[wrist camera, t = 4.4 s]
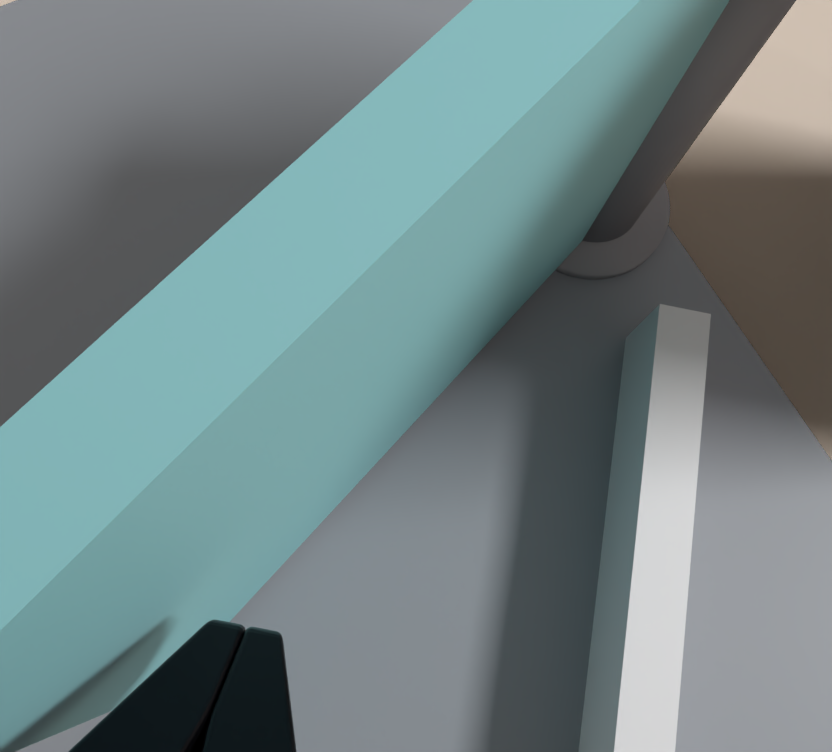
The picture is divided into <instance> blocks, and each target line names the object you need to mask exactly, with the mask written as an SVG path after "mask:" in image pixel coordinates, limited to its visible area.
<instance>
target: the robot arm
mask: <svg viewBox="0 0 832 752" xmlns="http://www.w3.org/2000/svg"><path fill="white" fill-rule="evenodd" d="M68 752H297V751H296V743H295V734H294V726H293V718H292V709H291V701H290V693H289V685H288V676H287V668H286V660H285V651H284V643H283V637H282V635H281V633H279V632H277V631H273V630H268V629H263V628H257V627H249V628H247V629H245V627H244V626H243V625H241V624H237V623H232V622H226V621H221V620H211V621H208V622H207V623H206V624H204V625H203V626H202V627H201V628H200V629H199V630H198V631H197V632H196V633H195V634H194V635H193V636H192V637H190V638H189V639H188V640H187V641H186V642H185V643H184V644H183V645H182V646H181V647H180V648H179V649H178V650H177V651H175V652H174V653H173V654H172V655H171V656H170V657H169V658H168V659H167V660H166V661H165V662H164V663H163V664H162V665H160V666H159V667H158V668H157V669H156V670H155V671H154V672H153V673H152V674H151V675H150V676H149V677H148V678H147V679H145V680H144V681H143V682H142V683H141V684H140V685H139V686H138V687H137V688H136V689H135V690H134V691H133V692H132V693H130V694H129V695H128V696H127V697H126V698H125V699H124V700H123V701H122V702H121V703H120V704H119V705H118V706H117V707H115V708H114V709H113V710H112V711H111V712H110V713H109V714H108V715H107V716H106V717H105V718H104V719H103V720H102V721H100V722H99V723H98V724H97V725H96V726H95V727H94V728H93V729H92V730H91V731H90V732H89V733H88V734H87V735H85V736H84V737H83V738H82V739H81V740H80V741H79V742H78V743H77V744H76V745H75V746H74V747H73V748H72V749H70V750H69V751H68Z"/></svg>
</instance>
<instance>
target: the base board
mask: <svg viewBox="0 0 832 752" xmlns="http://www.w3.org/2000/svg"><path fill="white" fill-rule="evenodd" d="M472 1H473V0H16V1H14V2H11V3H8V4H6V5H3V6H0V427H1V426H2V425H3V424H4V423H5V422H6V421H7V420H9V419H10V418H11V417H12V416H13V415H14V414H15V413H16V412H17V411H19V410H20V409H21V408H22V407H23V406H24V405H25V404H26V403H27V402H29V401H30V400H31V399H32V398H33V397H34V396H35V395H36V394H37V393H38V392H40V391H41V390H42V389H43V388H44V387H45V386H46V385H47V384H48V383H50V382H51V381H52V380H53V379H54V378H55V377H56V376H57V375H58V374H60V373H61V372H62V371H63V370H64V369H65V368H66V367H67V366H68V365H70V364H71V363H72V362H73V361H74V360H75V359H76V358H77V357H78V356H79V355H81V354H82V353H83V352H84V351H85V350H86V349H87V348H88V347H89V346H91V345H92V344H93V343H94V342H95V341H96V340H97V339H98V338H99V337H101V336H102V335H103V334H104V333H105V332H106V331H107V330H108V329H109V328H110V327H112V326H113V325H114V324H115V323H116V322H117V321H118V320H119V319H120V318H122V317H123V316H124V315H125V314H126V313H127V312H128V311H129V310H130V309H132V308H133V307H134V306H135V305H136V304H137V303H138V302H139V301H140V300H142V299H143V298H144V297H145V296H146V295H147V294H148V293H149V292H150V291H151V290H153V289H154V288H155V287H156V286H157V285H158V284H159V283H160V282H161V281H163V280H164V279H165V278H166V277H167V276H168V275H169V274H170V273H171V272H173V271H174V270H175V269H176V268H177V267H178V266H179V265H180V264H181V263H183V262H184V261H185V260H186V259H187V258H188V257H189V256H190V255H191V254H192V253H194V252H195V251H196V250H197V249H198V248H199V247H200V246H201V245H202V244H204V243H205V242H206V241H207V240H208V239H209V238H210V237H211V236H212V235H214V234H215V233H216V232H217V231H218V230H219V229H220V228H221V227H222V226H223V225H225V224H226V223H227V222H228V221H229V220H230V219H231V218H232V217H233V216H235V215H236V214H237V213H238V212H239V211H240V210H241V209H242V208H243V207H245V206H246V205H247V204H248V203H249V202H250V201H251V200H252V199H253V198H255V197H256V196H257V195H258V194H259V193H260V192H261V191H262V190H263V189H264V188H266V187H267V186H268V185H269V184H270V183H271V182H272V181H273V180H274V179H276V178H277V177H278V176H279V175H280V174H281V173H282V172H283V171H284V170H286V169H287V168H288V167H289V166H290V165H291V164H292V163H293V162H294V161H296V160H297V159H298V158H299V157H300V156H301V155H302V154H303V153H304V152H305V151H307V150H308V149H309V148H310V147H311V146H312V145H313V144H314V143H315V142H317V141H318V140H319V139H320V138H321V137H322V136H323V135H324V134H325V133H327V132H328V131H329V130H330V129H331V128H332V127H333V126H334V125H335V124H336V123H338V122H339V121H340V120H341V119H342V118H343V117H344V116H345V115H346V114H348V113H349V112H350V111H351V110H352V109H353V108H354V107H355V106H356V105H358V104H359V103H360V102H361V101H362V100H363V99H364V98H365V97H366V96H368V95H369V94H370V93H371V92H372V91H373V90H374V89H375V88H376V87H377V86H379V85H380V84H381V83H382V82H383V81H384V80H385V79H386V78H387V77H389V76H390V75H391V74H392V73H393V72H394V71H395V70H396V69H397V68H399V67H400V66H401V65H402V64H403V63H404V62H405V61H406V60H407V59H409V58H410V57H411V56H412V55H413V54H414V53H415V52H416V51H417V50H418V49H420V48H421V47H422V46H423V45H424V44H425V43H426V42H427V41H428V40H430V39H431V38H432V37H433V36H434V35H435V34H436V33H437V32H438V31H440V30H441V29H442V28H443V27H444V26H445V25H446V24H447V23H448V22H449V21H451V20H452V19H453V18H454V17H455V16H456V15H457V14H458V13H459V12H461V11H462V10H463V9H464V8H465V7H466V6H467V5H468V4H469V3H471V2H472ZM669 217H670V200H669V193H668V190H667V187H666V184H665V182H664V184H663V185H662V186H661V188H660V189H659V191H658V192H657V193H656V195H655V196H654V197H653V199H652V200H651V202H650V203H649V204H648V206H647V207H646V209H645V210H644V211H643V213H642V214H641V215H640V217H639V218H638V220H637V221H636V222H635V224H634V225H633V226H632V228H631V229H630V230H629V231H628V232H626V233H625V234H624V235H622V236H620V237H618V238H617V239H614V240H611V241H606V242H587V241H583V240H582V241H581V243H580V244H579V245H578V246H577V247H576V248H575V249H574V250H573V251H572V252H571V253H570V254H569V256H568V257H567V258H566V259H565V260H564V261H563V262H562V263H561V264H560V265H559V266H558V267H557V269H556V270H555V271H554V272H553V273H552V274H551V275H550V276H549V277H548V278H547V279H546V280H545V281H544V283H543V284H542V285H541V286H540V287H539V288H538V289H537V290H536V291H535V292H534V293H533V294H532V296H531V297H530V298H529V299H528V300H527V301H526V302H525V303H524V304H523V305H522V306H521V307H520V308H519V310H518V311H517V312H516V313H515V314H514V315H513V316H512V317H511V318H510V319H509V320H508V321H507V323H506V324H505V325H504V326H503V327H502V328H501V329H500V330H499V331H498V332H497V333H496V334H495V336H494V337H493V338H492V339H491V340H490V341H489V342H488V343H487V344H486V345H485V346H484V347H483V348H482V350H481V351H480V352H479V353H478V354H477V355H476V356H475V357H474V358H473V359H472V360H471V361H470V363H469V364H468V365H467V366H466V367H465V368H464V369H463V370H462V371H461V372H460V373H459V374H458V376H457V377H456V378H455V379H454V380H453V381H452V382H451V383H450V384H449V385H448V386H447V387H446V388H445V390H444V391H443V392H442V393H441V394H440V395H439V396H438V397H437V398H436V399H435V400H434V401H433V403H432V404H431V405H430V406H429V407H428V408H427V409H426V410H425V411H424V412H423V413H422V414H421V415H420V417H419V418H418V419H417V420H416V421H415V422H414V423H413V424H412V425H411V426H410V427H409V428H408V430H407V431H406V432H405V433H404V434H403V435H402V436H401V437H400V438H399V439H398V440H397V441H396V443H395V444H394V445H393V446H392V447H391V448H390V449H389V450H388V451H387V452H386V453H385V454H384V455H383V457H382V458H381V459H380V460H379V461H378V462H377V463H376V464H375V465H374V466H373V467H372V468H371V470H370V471H369V472H368V473H367V474H366V475H365V476H364V477H363V478H362V479H361V480H360V481H359V482H358V484H357V485H356V486H355V487H354V488H353V489H352V490H351V491H350V492H349V493H348V494H347V495H346V497H345V498H344V499H343V500H342V501H341V502H340V503H339V504H338V505H337V506H336V507H335V508H334V510H333V511H332V512H331V513H330V514H329V515H328V516H327V517H326V518H325V519H324V520H323V521H322V522H321V524H320V525H319V526H318V527H317V528H316V529H315V530H314V531H313V532H312V533H311V534H310V535H309V537H308V538H307V539H306V540H305V541H304V542H303V543H302V544H301V545H300V546H299V547H298V548H297V549H296V551H295V552H294V553H293V554H292V555H291V556H290V557H289V558H288V559H287V560H286V561H285V562H284V564H283V565H282V566H281V567H280V568H279V569H278V570H277V571H276V572H275V573H274V574H273V575H272V577H271V578H270V579H269V580H268V581H267V582H266V583H265V584H264V585H263V586H262V587H261V588H260V589H259V591H258V592H257V593H256V594H255V595H254V596H253V597H252V598H251V599H250V600H249V601H248V602H247V604H246V605H245V606H244V607H243V608H242V609H241V610H240V611H239V612H238V613H237V614H236V615H235V616H234V618H233V619H232V620H231V621H230V622H232V623H237V624H241V625H243V626H244V627H245V629H247V628H249V627H257V628H263V629H268V630H273V631H277V632H279V633H281V635H282V637H283V643H284V651H285V660H286V668H287V676H288V685H289V693H290V701H291V709H292V718H293V726H294V734H295V743H296V751H297V752H832V461H831V459H830V458H829V456H828V455H827V453H826V452H825V451H824V449H823V448H822V446H821V445H820V443H819V442H818V440H817V439H816V438H815V436H814V435H813V433H812V432H811V430H810V429H809V427H808V426H807V425H806V423H805V422H804V420H803V419H802V417H801V416H800V414H799V413H798V412H797V410H796V409H795V407H794V406H793V404H792V403H791V401H790V400H789V399H788V397H787V396H786V394H785V393H784V391H783V390H782V388H781V387H780V386H779V384H778V383H777V381H776V380H775V378H774V377H773V375H772V374H771V373H770V371H769V370H768V368H767V367H766V365H765V364H764V362H763V361H762V360H761V358H760V357H759V355H758V354H757V352H756V351H755V349H754V348H753V347H752V345H751V344H750V342H749V341H748V339H747V338H746V336H745V335H744V334H743V332H742V331H741V329H740V328H739V326H738V325H737V323H736V322H735V321H734V319H733V318H732V316H731V315H730V313H729V312H728V310H727V309H726V308H725V306H724V305H723V303H722V302H721V300H720V299H719V297H718V296H717V295H716V293H715V292H714V290H713V289H712V287H711V286H710V284H709V283H708V282H707V280H706V279H705V277H704V276H703V274H702V273H701V271H700V270H699V269H698V267H697V266H696V264H695V263H694V261H693V260H692V258H691V257H690V256H689V254H688V253H687V251H686V250H685V248H684V247H683V245H682V244H681V243H680V241H679V240H678V238H677V237H676V235H675V234H674V232H673V231H672V230H671V228H670V227H669V225H668V223H669ZM110 712H111V711H110ZM110 712H108V713H105V714H103V715H101V716H98V717H96V718H93V719H91V720H89V721H86V722H84V723H82V724H79V725H77V726H75V727H72V728H70V729H67V730H65V731H63V732H60V733H58V734H56V735H53V736H51V737H48V738H46V739H44V740H41V741H39V742H37V743H34V744H32V745H30V746H27V747H25V748H22V749H20V750H18V751H15V752H68V751H69V750H70V749H72V748H73V747H74V746H75V745H76V744H77V743H78V742H79V741H80V740H81V739H82V738H83V737H84V736H85V735H87V734H88V733H89V732H90V731H91V730H92V729H93V728H94V727H95V726H96V725H97V724H98V723H99V722H100V721H102V720H103V719H104V718H105V717H106V716H107V715H108V714H109V713H110Z"/></svg>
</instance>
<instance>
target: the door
mask: <svg viewBox="0 0 832 752" xmlns="http://www.w3.org/2000/svg"><path fill="white" fill-rule="evenodd" d="M795 1H796V0H473V1H472V2H471V3H469V4H468V5H467V6H466V7H465V8H464V9H463V10H462V11H461V12H459V13H458V14H457V15H456V16H455V17H454V18H453V19H452V20H451V21H449V22H448V23H447V24H446V25H445V26H444V27H443V28H442V29H441V30H440V31H438V32H437V33H436V34H435V35H434V36H433V37H432V38H431V39H430V40H428V41H427V42H426V43H425V44H424V45H423V46H422V47H421V48H420V49H418V50H417V51H416V52H415V53H414V54H413V55H412V56H411V57H410V58H409V59H407V60H406V61H405V62H404V63H403V64H402V65H401V66H400V67H399V68H397V69H396V70H395V71H394V72H393V73H392V74H391V75H390V76H389V77H387V78H386V79H385V80H384V81H383V82H382V83H381V84H380V85H379V86H377V87H376V88H375V89H374V90H373V91H372V92H371V93H370V94H369V95H368V96H366V97H365V98H364V99H363V100H362V101H361V102H360V103H359V104H358V105H356V106H355V107H354V108H353V109H352V110H351V111H350V112H349V113H348V114H346V115H345V116H344V117H343V118H342V119H341V120H340V121H339V122H338V123H336V124H335V125H334V126H333V127H332V128H331V129H330V130H329V131H328V132H327V133H325V134H324V135H323V136H322V137H321V138H320V139H319V140H318V141H317V142H315V143H314V144H313V145H312V146H311V147H310V148H309V149H308V150H307V151H305V152H304V153H303V154H302V155H301V156H300V157H299V158H298V159H297V160H296V161H294V162H293V163H292V164H291V165H290V166H289V167H288V168H287V169H286V170H284V171H283V172H282V173H281V174H280V175H279V176H278V177H277V178H276V179H274V180H273V181H272V182H271V183H270V184H269V185H268V186H267V187H266V188H264V189H263V190H262V191H261V192H260V193H259V194H258V195H257V196H256V197H255V198H253V199H252V200H251V201H250V202H249V203H248V204H247V205H246V206H245V207H243V208H242V209H241V210H240V211H239V212H238V213H237V214H236V215H235V216H233V217H232V218H231V219H230V220H229V221H228V222H227V223H226V224H225V225H223V226H222V227H221V228H220V229H219V230H218V231H217V232H216V233H215V234H214V235H212V236H211V237H210V238H209V239H208V240H207V241H206V242H205V243H204V244H202V245H201V246H200V247H199V248H198V249H197V250H196V251H195V252H194V253H192V254H191V255H190V256H189V257H188V258H187V259H186V260H185V261H184V262H183V263H181V264H180V265H179V266H178V267H177V268H176V269H175V270H174V271H173V272H171V273H170V274H169V275H168V276H167V277H166V278H165V279H164V280H163V281H161V282H160V283H159V284H158V285H157V286H156V287H155V288H154V289H153V290H151V291H150V292H149V293H148V294H147V295H146V296H145V297H144V298H143V299H142V300H140V301H139V302H138V303H137V304H136V305H135V306H134V307H133V308H132V309H130V310H129V311H128V312H127V313H126V314H125V315H124V316H123V317H122V318H120V319H119V320H118V321H117V322H116V323H115V324H114V325H113V326H112V327H110V328H109V329H108V330H107V331H106V332H105V333H104V334H103V335H102V336H101V337H99V338H98V339H97V340H96V341H95V342H94V343H93V344H92V345H91V346H89V347H88V348H87V349H86V350H85V351H84V352H83V353H82V354H81V355H79V356H78V357H77V358H76V359H75V360H74V361H73V362H72V363H71V364H70V365H68V366H67V367H66V368H65V369H64V370H63V371H62V372H61V373H60V374H58V375H57V376H56V377H55V378H54V379H53V380H52V381H51V382H50V383H48V384H47V385H46V386H45V387H44V388H43V389H42V390H41V391H40V392H38V393H37V394H36V395H35V396H34V397H33V398H32V399H31V400H30V401H29V402H27V403H26V404H25V405H24V406H23V407H22V408H21V409H20V410H19V411H17V412H16V413H15V414H14V415H13V416H12V417H11V418H10V419H9V420H7V421H6V422H5V423H4V424H3V425H2V426H1V427H0V752H15V751H18V750H20V749H22V748H25V747H27V746H30V745H32V744H34V743H37V742H39V741H41V740H44V739H46V738H48V737H51V736H53V735H56V734H58V733H60V732H63V731H65V730H67V729H70V728H72V727H75V726H77V725H79V724H82V723H84V722H86V721H89V720H91V719H93V718H96V717H98V716H101V715H103V714H105V713H108V712H110V711H112V710H113V709H114V708H115V707H117V706H118V705H119V704H120V703H121V702H122V701H123V700H124V699H125V698H126V697H127V696H128V695H129V694H130V693H132V692H133V691H134V690H135V689H136V688H137V687H138V686H139V685H140V684H141V683H142V682H143V681H144V680H145V679H147V678H148V677H149V676H150V675H151V674H152V673H153V672H154V671H155V670H156V669H157V668H158V667H159V666H160V665H162V664H163V663H164V662H165V661H166V660H167V659H168V658H169V657H170V656H171V655H172V654H173V653H174V652H175V651H177V650H178V649H179V648H180V647H181V646H182V645H183V644H184V643H185V642H186V641H187V640H188V639H189V638H190V637H192V636H193V635H194V634H195V633H196V632H197V631H198V630H199V629H200V628H201V627H202V626H203V625H204V624H206V623H207V622H208V621H211V620H221V621H226V622H230V621H231V620H232V619H233V618H234V616H235V615H236V614H237V613H238V612H239V611H240V610H241V609H242V608H243V607H244V606H245V605H246V604H247V602H248V601H249V600H250V599H251V598H252V597H253V596H254V595H255V594H256V593H257V592H258V591H259V589H260V588H261V587H262V586H263V585H264V584H265V583H266V582H267V581H268V580H269V579H270V578H271V577H272V575H273V574H274V573H275V572H276V571H277V570H278V569H279V568H280V567H281V566H282V565H283V564H284V562H285V561H286V560H287V559H288V558H289V557H290V556H291V555H292V554H293V553H294V552H295V551H296V549H297V548H298V547H299V546H300V545H301V544H302V543H303V542H304V541H305V540H306V539H307V538H308V537H309V535H310V534H311V533H312V532H313V531H314V530H315V529H316V528H317V527H318V526H319V525H320V524H321V522H322V521H323V520H324V519H325V518H326V517H327V516H328V515H329V514H330V513H331V512H332V511H333V510H334V508H335V507H336V506H337V505H338V504H339V503H340V502H341V501H342V500H343V499H344V498H345V497H346V495H347V494H348V493H349V492H350V491H351V490H352V489H353V488H354V487H355V486H356V485H357V484H358V482H359V481H360V480H361V479H362V478H363V477H364V476H365V475H366V474H367V473H368V472H369V471H370V470H371V468H372V467H373V466H374V465H375V464H376V463H377V462H378V461H379V460H380V459H381V458H382V457H383V455H384V454H385V453H386V452H387V451H388V450H389V449H390V448H391V447H392V446H393V445H394V444H395V443H396V441H397V440H398V439H399V438H400V437H401V436H402V435H403V434H404V433H405V432H406V431H407V430H408V428H409V427H410V426H411V425H412V424H413V423H414V422H415V421H416V420H417V419H418V418H419V417H420V415H421V414H422V413H423V412H424V411H425V410H426V409H427V408H428V407H429V406H430V405H431V404H432V403H433V401H434V400H435V399H436V398H437V397H438V396H439V395H440V394H441V393H442V392H443V391H444V390H445V388H446V387H447V386H448V385H449V384H450V383H451V382H452V381H453V380H454V379H455V378H456V377H457V376H458V374H459V373H460V372H461V371H462V370H463V369H464V368H465V367H466V366H467V365H468V364H469V363H470V361H471V360H472V359H473V358H474V357H475V356H476V355H477V354H478V353H479V352H480V351H481V350H482V348H483V347H484V346H485V345H486V344H487V343H488V342H489V341H490V340H491V339H492V338H493V337H494V336H495V334H496V333H497V332H498V331H499V330H500V329H501V328H502V327H503V326H504V325H505V324H506V323H507V321H508V320H509V319H510V318H511V317H512V316H513V315H514V314H515V313H516V312H517V311H518V310H519V308H520V307H521V306H522V305H523V304H524V303H525V302H526V301H527V300H528V299H529V298H530V297H531V296H532V294H533V293H534V292H535V291H536V290H537V289H538V288H539V287H540V286H541V285H542V284H543V283H544V281H545V280H546V279H547V278H548V277H549V276H550V275H551V274H552V273H553V272H554V271H555V270H556V269H557V267H558V266H559V265H560V264H561V263H562V262H563V261H564V260H565V259H566V258H567V257H568V256H569V254H570V253H571V252H572V251H573V250H574V249H575V248H576V247H577V246H578V245H579V244H580V243H581V241H582V240H583V241H587V242H606V241H611V240H614V239H617V238H618V237H620V236H622V235H624V234H625V233H626V232H628V231H629V230H630V229H631V228H632V226H633V225H634V224H635V222H636V221H637V220H638V218H639V217H640V215H641V214H642V213H643V211H644V210H645V209H646V207H647V206H648V204H649V203H650V202H651V200H652V199H653V197H654V196H655V195H656V193H657V192H658V191H659V189H660V188H661V186H662V185H663V184H664V182H665V181H666V179H667V178H668V177H669V175H670V174H671V173H672V171H673V170H674V168H675V167H676V166H677V164H678V163H679V162H680V160H681V159H682V157H683V156H684V155H685V153H686V152H687V150H688V149H689V148H690V146H691V145H692V144H693V142H694V141H695V139H696V138H697V137H698V135H699V134H700V132H701V131H702V130H703V128H704V127H705V126H706V124H707V123H708V121H709V120H710V119H711V117H712V116H713V114H714V113H715V112H716V110H717V109H718V108H719V106H720V105H721V103H722V102H723V101H724V99H725V98H726V96H727V95H728V94H729V92H730V91H731V90H732V88H733V87H734V85H735V84H736V83H737V81H738V80H739V79H740V77H741V76H742V74H743V73H744V72H745V70H746V69H747V67H748V66H749V65H750V63H751V62H752V61H753V59H754V58H755V56H756V55H757V54H758V52H759V51H760V49H761V48H762V47H763V45H764V44H765V43H766V41H767V40H768V38H769V37H770V36H771V34H772V33H773V31H774V30H775V29H776V27H777V26H778V25H779V23H780V22H781V20H782V19H783V18H784V16H785V15H786V14H787V12H788V11H789V9H790V8H791V7H792V5H793V4H794V2H795Z"/></svg>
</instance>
